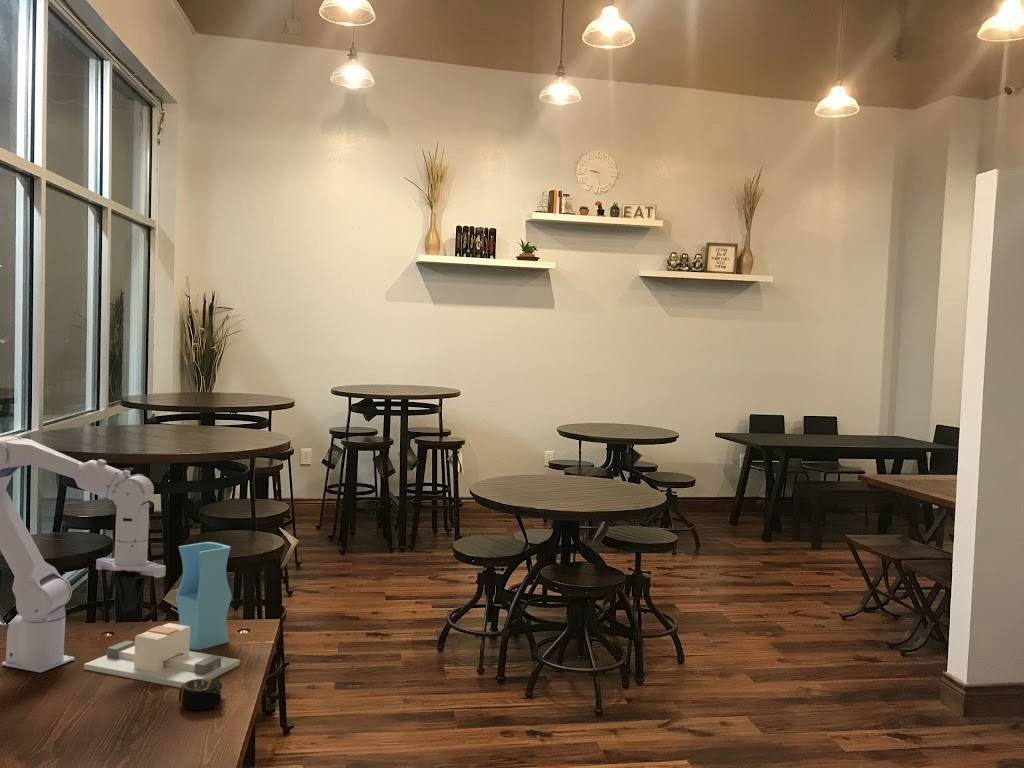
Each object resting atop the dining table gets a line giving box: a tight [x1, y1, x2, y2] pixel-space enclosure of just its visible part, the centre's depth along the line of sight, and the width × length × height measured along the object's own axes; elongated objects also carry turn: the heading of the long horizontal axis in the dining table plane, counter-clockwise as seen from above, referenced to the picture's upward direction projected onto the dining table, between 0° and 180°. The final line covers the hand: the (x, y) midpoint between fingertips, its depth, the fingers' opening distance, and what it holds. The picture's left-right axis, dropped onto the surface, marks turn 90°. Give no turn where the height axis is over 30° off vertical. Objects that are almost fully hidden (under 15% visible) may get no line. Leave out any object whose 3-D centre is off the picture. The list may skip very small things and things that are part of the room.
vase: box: [175, 541, 232, 651], centre depth 173 cm, size 8×8×20 cm
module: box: [134, 622, 190, 672], centre depth 157 cm, size 5×9×6 cm, turn 163°
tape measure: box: [178, 678, 223, 711], centre depth 141 cm, size 7×7×4 cm
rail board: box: [83, 640, 241, 689], centre depth 158 cm, size 24×14×3 cm, turn 73°
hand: (128, 610), depth 158 cm, fingers closed
